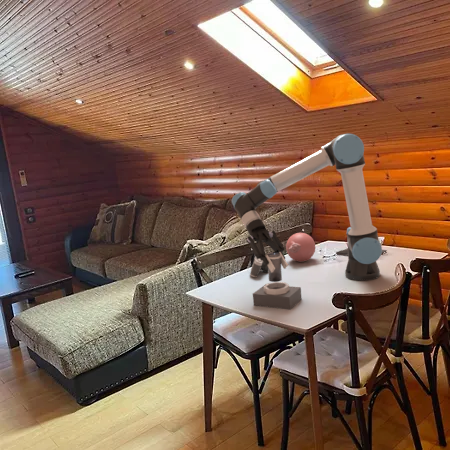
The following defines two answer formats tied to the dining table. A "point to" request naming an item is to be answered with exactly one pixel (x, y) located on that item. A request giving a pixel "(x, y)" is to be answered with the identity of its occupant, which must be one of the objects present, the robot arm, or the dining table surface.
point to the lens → (276, 261)
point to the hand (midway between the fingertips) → (279, 268)
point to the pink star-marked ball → (300, 247)
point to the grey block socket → (277, 295)
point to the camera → (258, 267)
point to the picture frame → (345, 252)
